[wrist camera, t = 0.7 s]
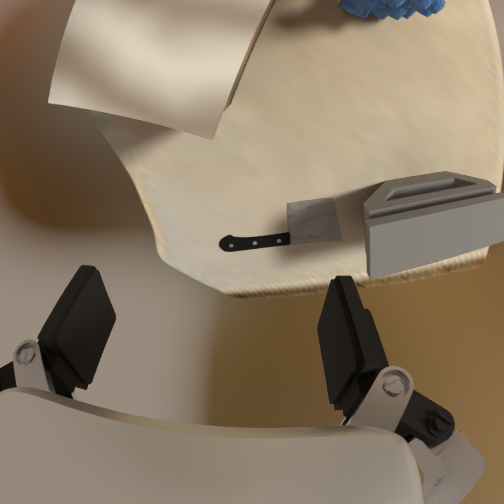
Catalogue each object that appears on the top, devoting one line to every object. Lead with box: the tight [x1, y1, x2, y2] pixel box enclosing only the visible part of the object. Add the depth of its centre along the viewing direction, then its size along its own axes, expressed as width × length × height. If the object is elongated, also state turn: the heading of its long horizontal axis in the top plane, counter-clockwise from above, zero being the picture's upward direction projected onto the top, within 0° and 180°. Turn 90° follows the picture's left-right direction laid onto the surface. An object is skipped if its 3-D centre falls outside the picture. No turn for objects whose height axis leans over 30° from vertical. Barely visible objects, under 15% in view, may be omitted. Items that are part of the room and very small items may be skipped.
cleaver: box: [219, 198, 342, 252], centre depth 41 cm, size 29×1×10 cm
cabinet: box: [48, 0, 276, 140], centre depth 18 cm, size 18×14×19 cm
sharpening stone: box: [363, 171, 504, 279], centre depth 34 cm, size 25×8×11 cm, turn 105°
